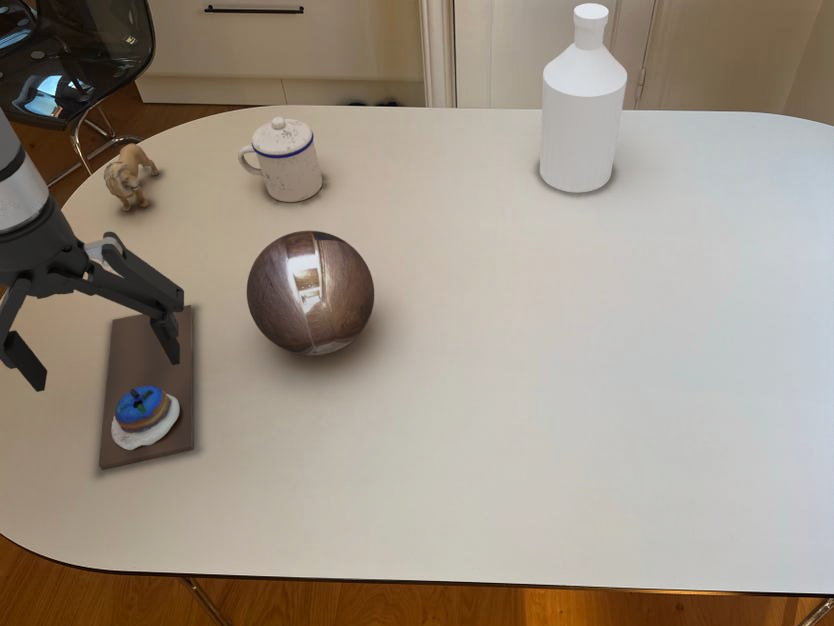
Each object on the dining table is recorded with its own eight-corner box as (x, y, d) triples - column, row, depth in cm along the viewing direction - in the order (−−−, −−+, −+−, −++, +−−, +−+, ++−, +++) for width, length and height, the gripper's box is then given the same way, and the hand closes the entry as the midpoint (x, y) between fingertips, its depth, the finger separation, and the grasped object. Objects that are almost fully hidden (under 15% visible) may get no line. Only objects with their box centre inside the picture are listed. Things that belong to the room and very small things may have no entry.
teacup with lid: (327, 168, 114) (313, 102, 105) (320, 203, 108) (303, 137, 99) (254, 169, 114) (233, 104, 105) (242, 205, 108) (219, 139, 99)
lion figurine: (155, 220, 107) (131, 170, 100) (119, 226, 106) (92, 176, 99) (160, 164, 116) (139, 115, 109) (127, 169, 115) (103, 120, 108)
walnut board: (101, 469, 79) (98, 466, 78) (115, 323, 93) (112, 319, 92) (193, 449, 80) (191, 445, 80) (192, 308, 95) (190, 304, 94)
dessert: (159, 376, 85) (154, 369, 80) (193, 420, 86) (190, 416, 80) (97, 417, 82) (88, 412, 77) (133, 461, 83) (126, 460, 77)
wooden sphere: (293, 399, 85) (261, 314, 73) (247, 323, 93) (211, 235, 81) (402, 345, 90) (388, 258, 78) (349, 277, 98) (329, 189, 86)
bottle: (527, 183, 110) (533, 23, 91) (552, 142, 117) (562, -15, 98) (600, 200, 107) (622, 38, 88) (621, 158, 114) (646, -1, 95)
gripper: (-178, 266, 54) (-23, 421, 71) (158, 211, 58) (231, 370, 75) (-149, 206, 59) (-10, 365, 75) (160, 159, 63) (228, 320, 79)
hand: (110, 368), depth 75 cm, fingers open, 13 cm apart
